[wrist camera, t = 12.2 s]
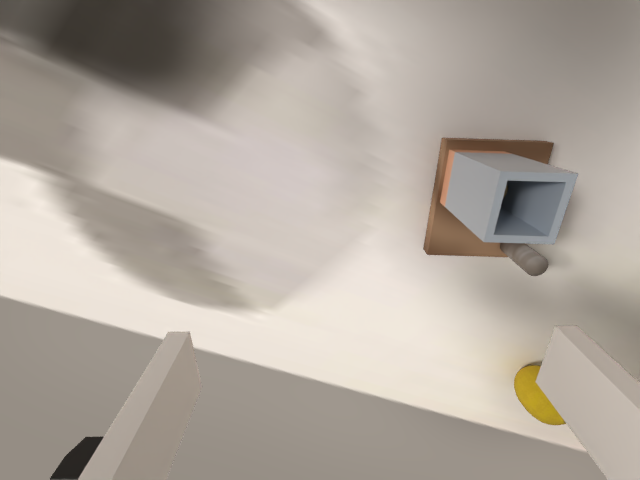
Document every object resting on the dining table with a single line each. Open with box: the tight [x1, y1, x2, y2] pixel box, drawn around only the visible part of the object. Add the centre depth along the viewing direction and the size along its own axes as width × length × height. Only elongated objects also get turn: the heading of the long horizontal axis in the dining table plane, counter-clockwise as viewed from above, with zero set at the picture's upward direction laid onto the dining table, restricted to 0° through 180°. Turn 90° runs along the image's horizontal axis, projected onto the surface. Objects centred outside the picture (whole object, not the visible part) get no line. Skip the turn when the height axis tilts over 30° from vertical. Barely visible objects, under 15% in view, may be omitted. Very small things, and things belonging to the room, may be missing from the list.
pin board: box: [424, 138, 554, 276], centre depth 32 cm, size 12×10×6 cm
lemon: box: [514, 365, 566, 425], centre depth 40 cm, size 6×6×8 cm
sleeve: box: [440, 150, 578, 244], centre depth 28 cm, size 5×5×10 cm
